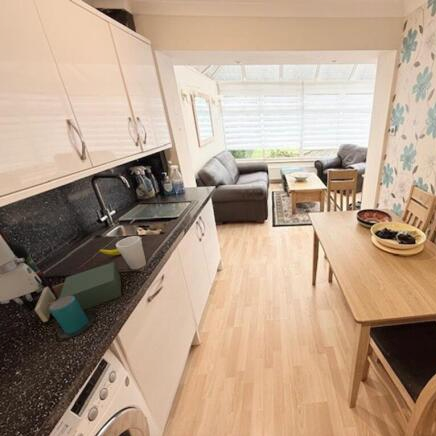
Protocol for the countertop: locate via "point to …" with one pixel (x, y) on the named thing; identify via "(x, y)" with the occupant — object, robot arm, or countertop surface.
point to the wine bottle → (22, 253)
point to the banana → (111, 251)
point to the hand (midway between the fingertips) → (33, 308)
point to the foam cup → (132, 251)
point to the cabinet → (93, 286)
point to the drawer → (47, 301)
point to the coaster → (63, 335)
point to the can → (68, 314)
